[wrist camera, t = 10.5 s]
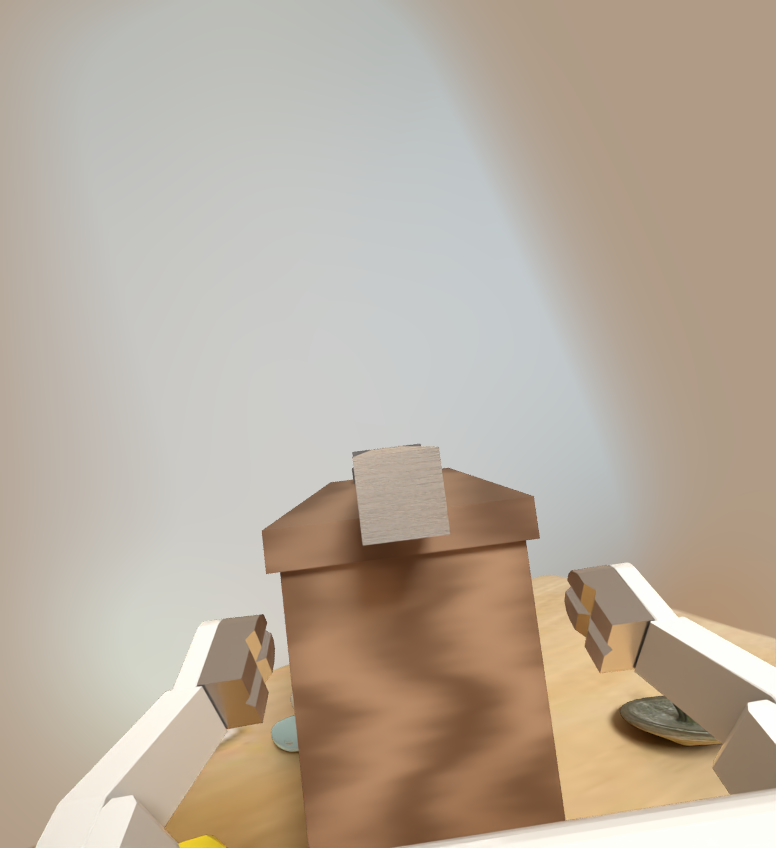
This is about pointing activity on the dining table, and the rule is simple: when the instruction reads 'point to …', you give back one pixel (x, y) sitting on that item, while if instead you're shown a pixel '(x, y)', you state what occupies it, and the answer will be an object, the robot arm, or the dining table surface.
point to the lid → (665, 721)
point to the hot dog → (202, 842)
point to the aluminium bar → (400, 494)
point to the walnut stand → (416, 670)
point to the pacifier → (286, 732)
